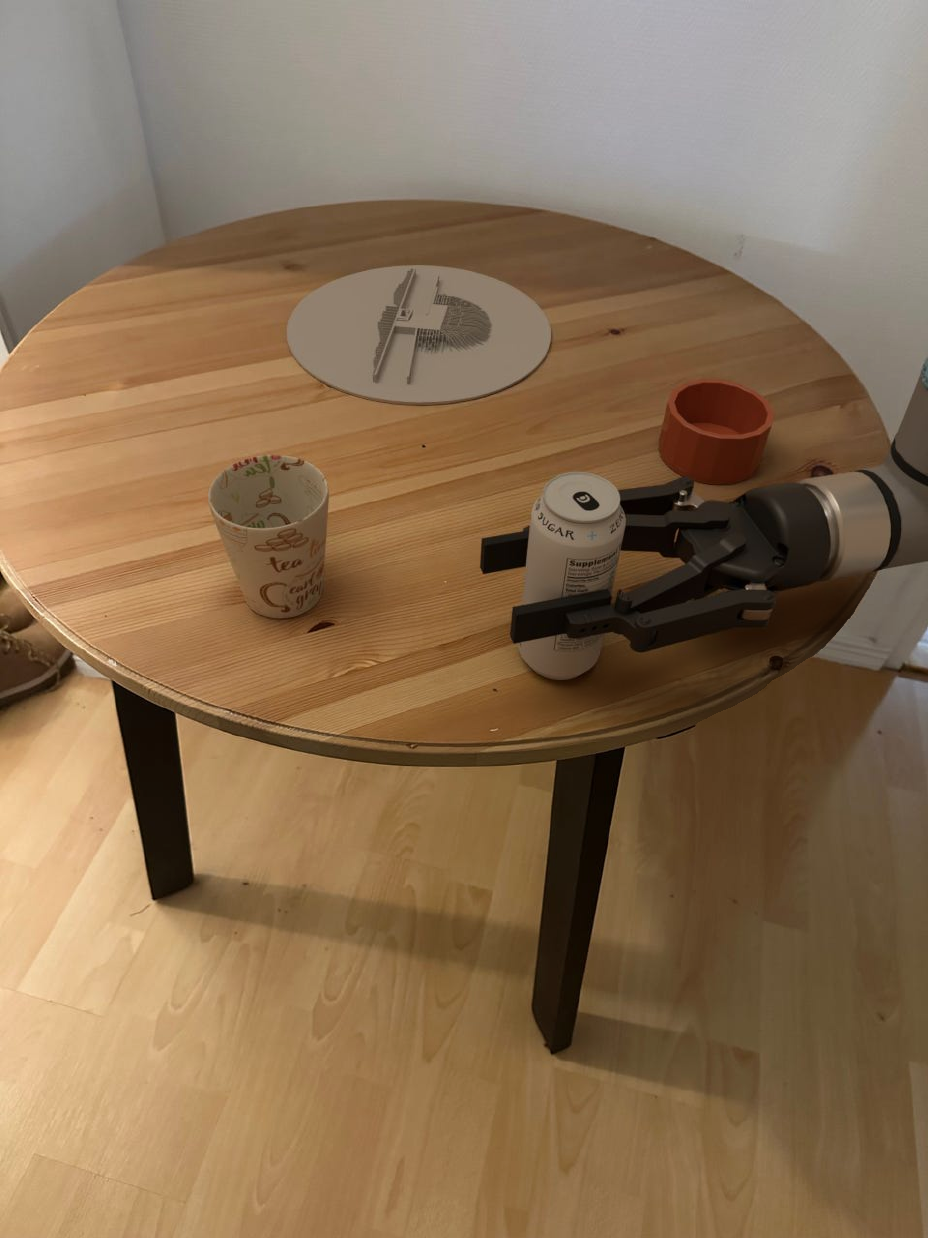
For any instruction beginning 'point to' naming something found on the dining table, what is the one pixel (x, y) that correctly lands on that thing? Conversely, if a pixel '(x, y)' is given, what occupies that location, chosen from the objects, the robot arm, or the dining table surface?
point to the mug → (273, 531)
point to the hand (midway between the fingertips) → (497, 589)
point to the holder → (715, 431)
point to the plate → (418, 335)
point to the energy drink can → (571, 562)
